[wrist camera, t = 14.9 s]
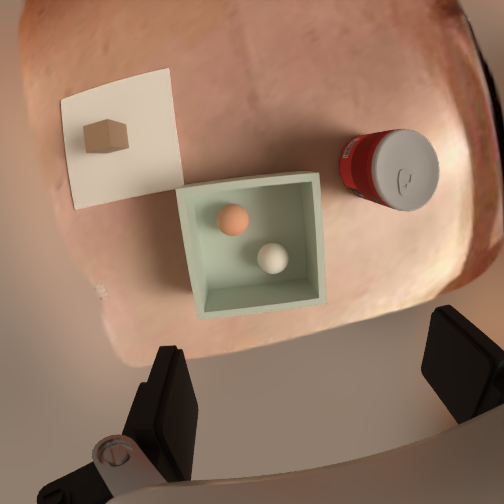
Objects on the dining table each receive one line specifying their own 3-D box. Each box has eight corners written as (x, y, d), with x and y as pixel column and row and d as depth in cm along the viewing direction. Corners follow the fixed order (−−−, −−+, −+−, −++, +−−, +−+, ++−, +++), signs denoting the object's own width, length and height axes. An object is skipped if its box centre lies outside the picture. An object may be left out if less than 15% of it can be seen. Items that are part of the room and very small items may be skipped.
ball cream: (254, 241, 38) (256, 249, 35) (284, 237, 38) (289, 245, 35) (258, 269, 39) (260, 280, 36) (287, 266, 39) (292, 276, 36)
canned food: (340, 201, 38) (377, 216, 27) (333, 136, 36) (369, 129, 25) (394, 194, 38) (442, 208, 27) (388, 134, 36) (436, 128, 25)
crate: (186, 184, 36) (175, 189, 30) (304, 170, 37) (319, 172, 30) (203, 294, 40) (198, 319, 34) (312, 280, 41) (326, 303, 34)
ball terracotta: (215, 203, 37) (213, 208, 33) (246, 199, 37) (247, 203, 33) (219, 233, 38) (218, 241, 34) (250, 230, 38) (251, 237, 34)
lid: (64, 100, 33) (36, 93, 26) (170, 70, 33) (157, 52, 26) (78, 208, 37) (51, 218, 30) (185, 186, 37) (175, 192, 31)
